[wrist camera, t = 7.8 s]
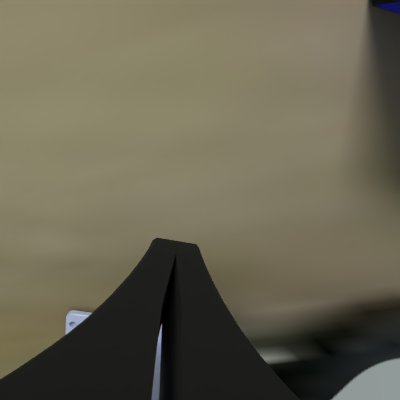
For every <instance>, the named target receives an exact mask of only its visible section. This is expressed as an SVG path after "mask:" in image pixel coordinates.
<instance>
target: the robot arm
mask: <svg viewBox="0 0 400 400" xmlns="http://www.w3.org/2000/svg"><path fill="white" fill-rule="evenodd" d="M73 322H75V323H73ZM0 400H300V399H299V398H298V397H297V396H296V395H295V394H294V393H293V392H292V391H291V390H290V389H289V388H288V387H287V386H286V385H285V384H284V383H283V381H282V380H281V379H280V378H279V377H278V376H277V375H276V373H275V372H274V371H273V370H272V369H271V368H270V367H269V365H268V364H267V363H266V362H265V361H264V360H263V358H262V357H261V356H260V355H259V353H258V352H257V351H256V350H255V348H254V347H253V346H252V344H251V343H250V342H249V340H248V339H247V338H246V336H245V335H244V333H243V332H242V331H241V329H240V328H239V326H238V325H237V323H236V322H235V320H234V318H233V317H232V315H231V314H230V312H229V310H228V309H227V307H226V305H225V304H224V302H223V300H222V298H221V296H220V295H219V293H218V291H217V289H216V287H215V285H214V283H213V281H212V279H211V277H210V275H209V272H208V270H207V268H206V266H205V263H204V261H203V258H202V256H201V253H200V250H199V247H198V246H197V245H196V244H191V243H185V242H179V241H173V240H167V239H161V238H156V239H154V240H153V241H152V243H151V245H150V247H149V249H148V250H147V252H146V254H145V255H144V256H143V258H142V259H141V261H140V262H139V263H138V265H137V266H136V267H135V268H134V270H133V271H132V272H131V273H130V275H129V276H128V277H127V278H126V279H125V281H124V282H123V283H122V284H121V285H120V286H119V287H118V288H117V289H116V290H115V291H114V292H113V294H112V295H111V296H110V297H109V298H108V299H107V300H106V301H105V302H104V303H103V304H101V305H100V306H99V307H98V308H97V309H96V310H95V311H94V312H93V313H90V312H83V311H76V310H72V311H70V312H68V314H67V317H66V335H65V336H64V337H62V338H61V339H60V340H58V341H57V342H56V343H54V344H53V345H52V346H50V347H49V348H47V349H46V350H44V351H43V352H41V353H40V354H38V355H37V356H35V357H34V358H32V359H31V360H29V361H28V362H27V363H25V364H24V365H22V366H21V367H19V368H18V369H16V370H15V371H13V372H11V373H10V374H8V375H7V376H5V377H3V378H2V379H0Z"/></svg>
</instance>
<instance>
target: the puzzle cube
mask: <svg viewBox="0 0 400 400" xmlns="http://www.w3.org/2000/svg"><path fill="white" fill-rule="evenodd" d="M372 3H373V6H376V7H379V8H382V9H386V10H389V11H392V12H396V13H399V14H400V0H372Z"/></svg>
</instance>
